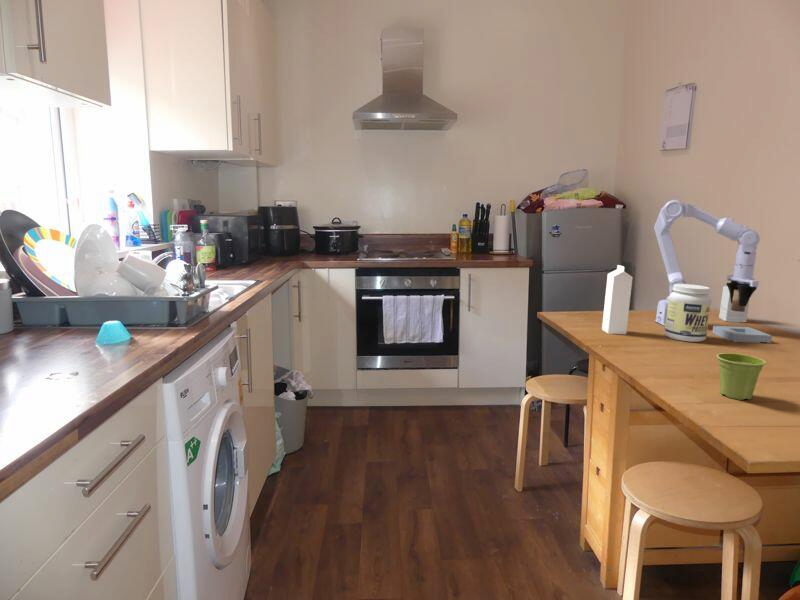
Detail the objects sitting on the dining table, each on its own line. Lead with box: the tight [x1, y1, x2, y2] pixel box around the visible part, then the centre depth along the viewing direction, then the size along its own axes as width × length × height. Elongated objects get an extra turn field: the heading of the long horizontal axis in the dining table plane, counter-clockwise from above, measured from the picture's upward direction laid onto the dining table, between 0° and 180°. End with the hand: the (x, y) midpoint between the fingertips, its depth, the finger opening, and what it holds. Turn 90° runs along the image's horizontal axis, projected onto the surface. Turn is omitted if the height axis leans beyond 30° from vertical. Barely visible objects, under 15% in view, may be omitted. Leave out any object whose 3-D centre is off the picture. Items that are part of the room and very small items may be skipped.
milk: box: [601, 264, 634, 335], centre depth 185 cm, size 6×6×22 cm
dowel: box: [731, 289, 745, 312], centre depth 193 cm, size 4×4×7 cm
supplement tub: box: [663, 283, 712, 343], centre depth 181 cm, size 12×12×17 cm
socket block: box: [712, 325, 773, 344], centre depth 185 cm, size 12×12×2 cm
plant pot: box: [716, 352, 767, 401], centre depth 126 cm, size 9×9×9 cm
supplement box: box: [718, 285, 750, 323], centre depth 214 cm, size 7×7×13 cm
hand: (738, 304), depth 194 cm, fingers closed on dowel, 4 cm apart
